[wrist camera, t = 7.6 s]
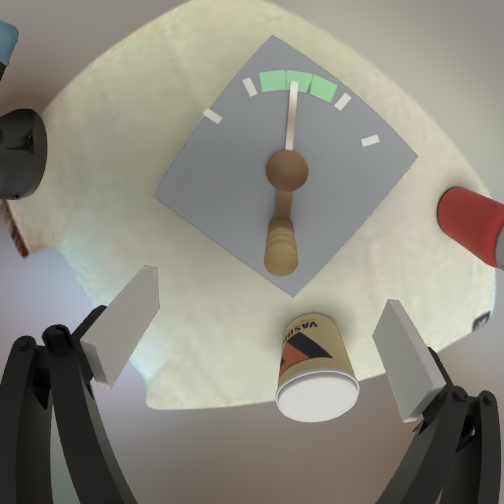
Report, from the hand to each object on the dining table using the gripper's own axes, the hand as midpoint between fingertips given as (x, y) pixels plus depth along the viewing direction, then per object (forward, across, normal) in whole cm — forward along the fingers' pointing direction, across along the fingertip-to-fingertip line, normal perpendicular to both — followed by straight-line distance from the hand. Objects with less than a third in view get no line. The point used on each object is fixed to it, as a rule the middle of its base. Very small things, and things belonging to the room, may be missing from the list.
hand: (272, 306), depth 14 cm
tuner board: (+17, 0, +6) cm, 18 cm away
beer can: (+17, +23, +5) cm, 30 cm away
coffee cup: (+17, +8, -16) cm, 25 cm away
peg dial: (+15, 0, +6) cm, 16 cm away
